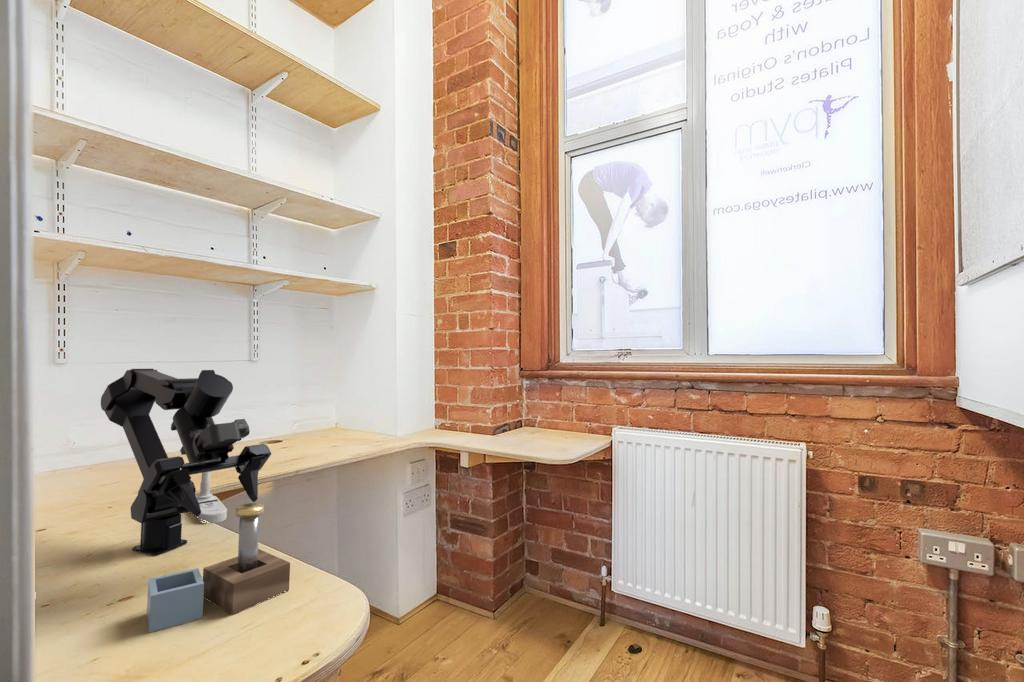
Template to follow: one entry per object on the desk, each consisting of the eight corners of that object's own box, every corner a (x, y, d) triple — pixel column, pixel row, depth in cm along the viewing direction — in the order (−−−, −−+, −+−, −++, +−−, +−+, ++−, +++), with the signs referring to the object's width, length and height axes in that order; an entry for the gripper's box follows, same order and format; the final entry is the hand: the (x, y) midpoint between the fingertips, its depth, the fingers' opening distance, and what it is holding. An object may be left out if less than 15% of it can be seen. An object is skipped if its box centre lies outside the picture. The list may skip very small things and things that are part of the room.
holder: (146, 613, 71) (148, 578, 71) (196, 600, 75) (198, 567, 75) (149, 633, 66) (150, 596, 66) (202, 618, 70) (204, 583, 70)
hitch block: (202, 596, 76) (203, 567, 76) (258, 575, 83) (259, 549, 83) (232, 614, 71) (233, 584, 71) (289, 590, 79) (290, 562, 79)
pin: (225, 597, 76) (229, 509, 76) (246, 585, 80) (250, 501, 80) (246, 601, 75) (250, 512, 75) (266, 589, 78) (269, 504, 79)
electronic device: (204, 483, 106) (191, 467, 117) (201, 528, 106) (188, 508, 117) (231, 479, 109) (216, 465, 120) (228, 522, 109) (214, 504, 120)
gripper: (154, 409, 76) (184, 491, 70) (267, 401, 92) (300, 467, 86) (131, 452, 80) (158, 534, 74) (243, 437, 96) (273, 504, 90)
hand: (228, 507), depth 81 cm, fingers open, 9 cm apart
